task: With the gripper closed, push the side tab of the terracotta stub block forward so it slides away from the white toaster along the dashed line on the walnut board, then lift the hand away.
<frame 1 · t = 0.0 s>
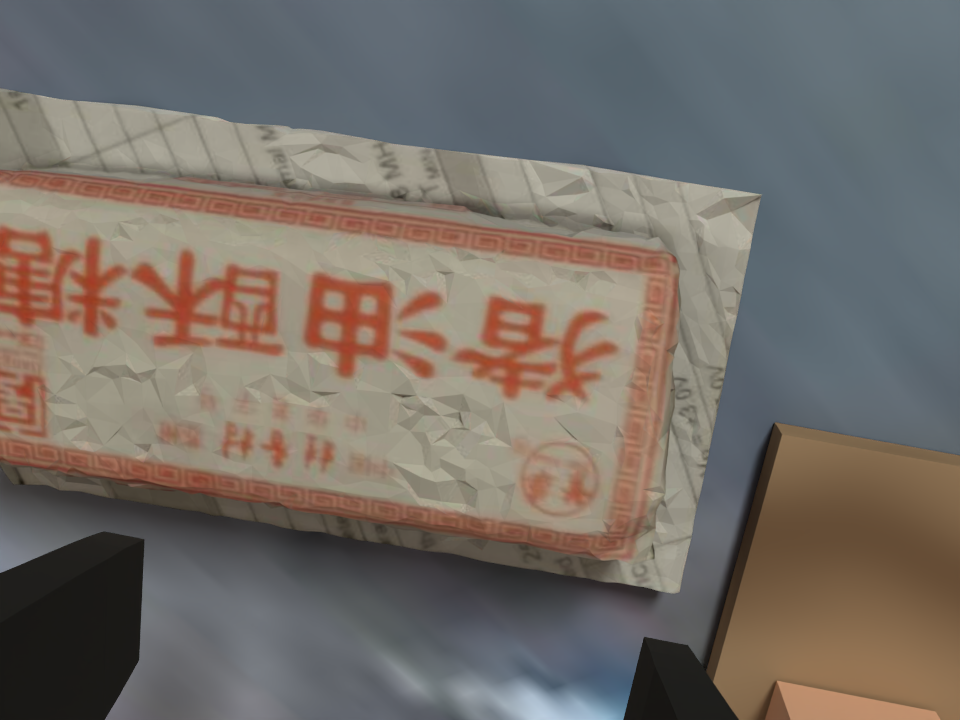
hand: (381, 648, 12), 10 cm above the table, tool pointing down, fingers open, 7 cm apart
packaged product: (360, 333, 22), on the table
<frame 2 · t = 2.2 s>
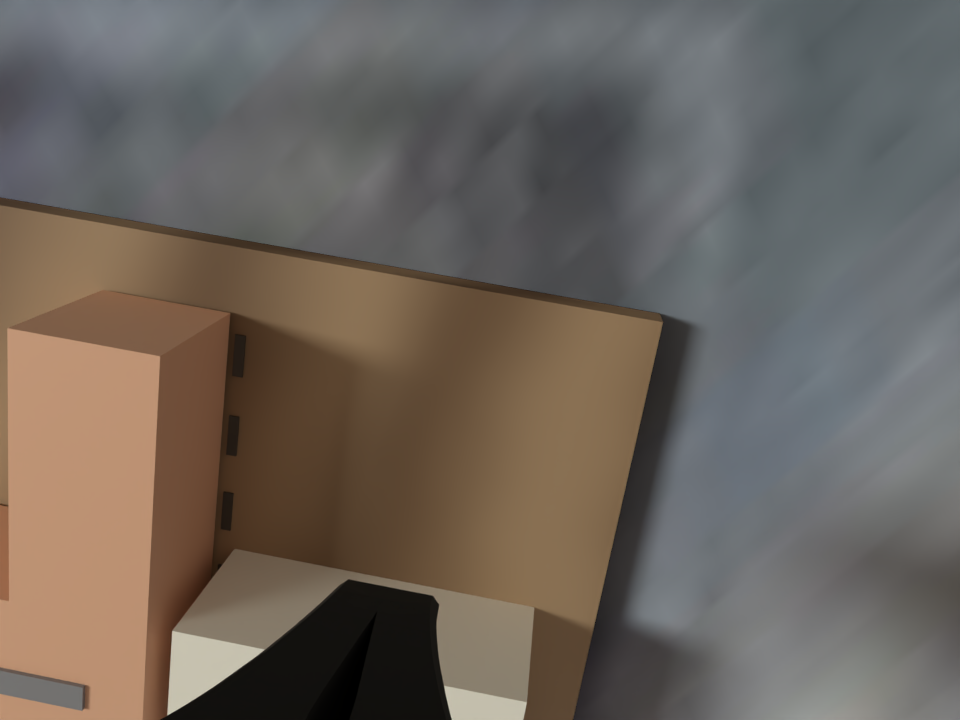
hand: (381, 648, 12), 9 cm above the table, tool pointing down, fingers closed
white toaster: (380, 628, 23), resting on board
stub: (55, 521, 20), point 3 cm above the table, slide at 0.0 cm
board: (172, 483, 22), on the table
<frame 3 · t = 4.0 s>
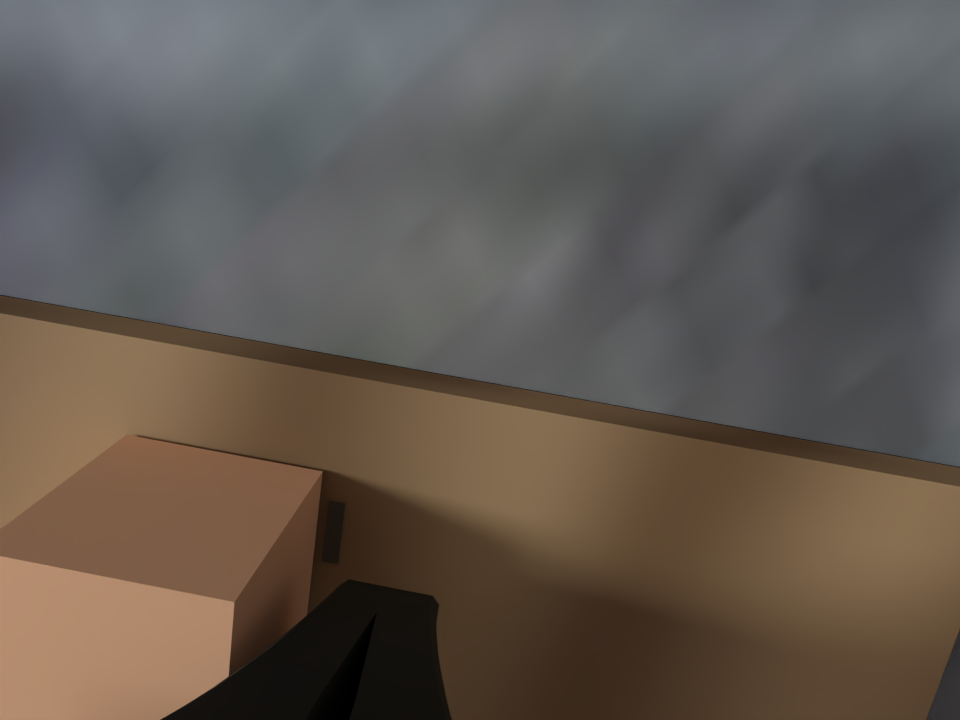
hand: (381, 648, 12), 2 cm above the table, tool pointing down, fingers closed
board: (225, 693, 15), on the table
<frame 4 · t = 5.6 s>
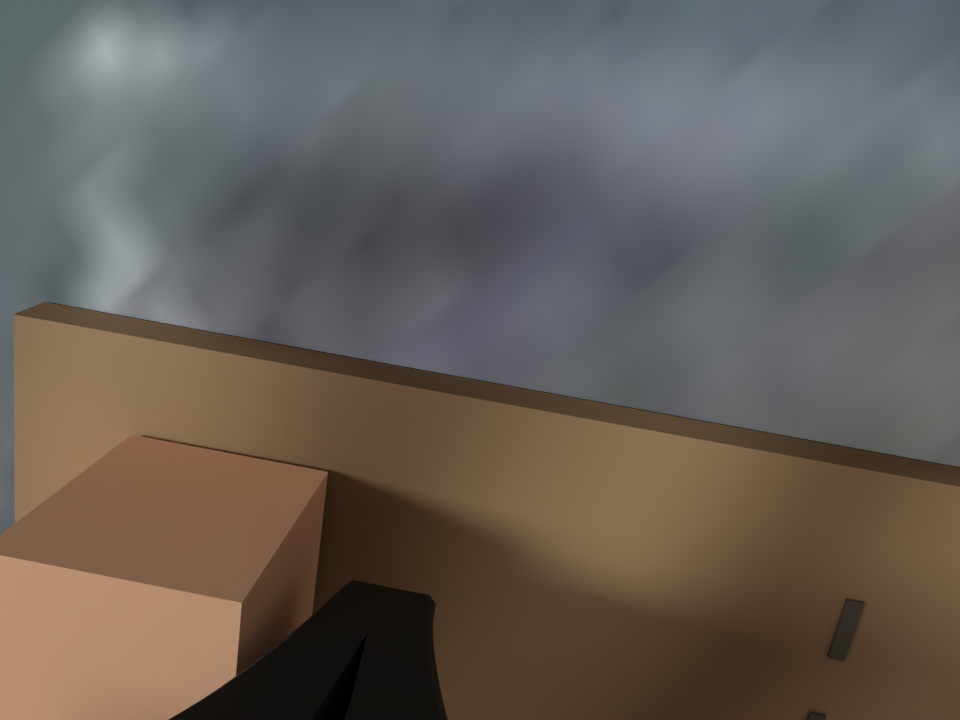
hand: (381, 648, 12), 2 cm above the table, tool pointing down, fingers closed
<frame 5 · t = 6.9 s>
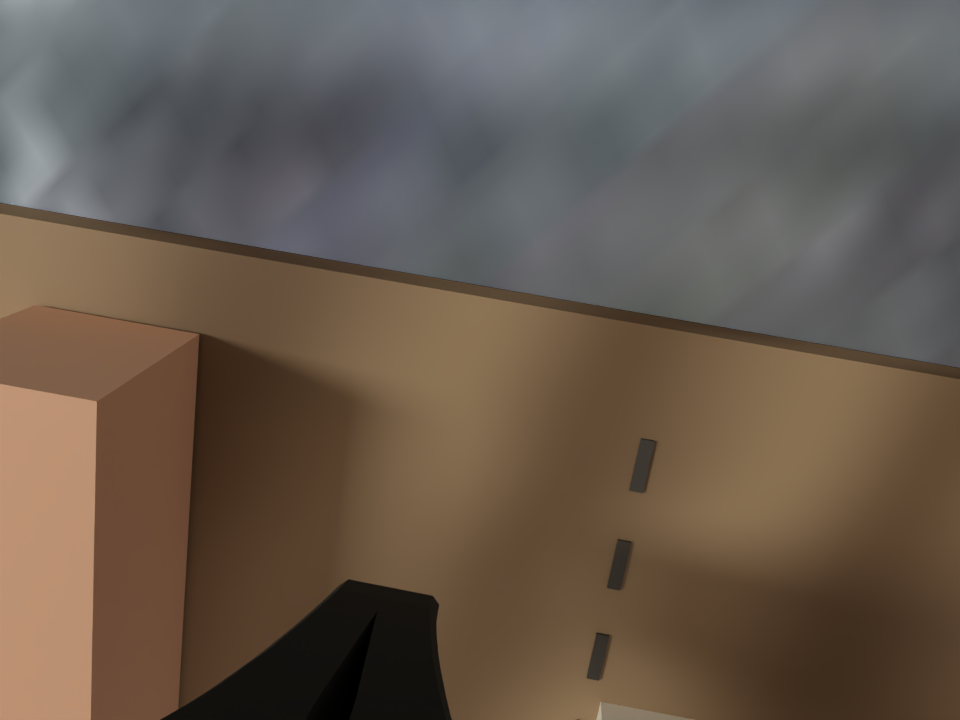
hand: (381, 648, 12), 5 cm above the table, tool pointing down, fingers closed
board: (509, 614, 17), on the table
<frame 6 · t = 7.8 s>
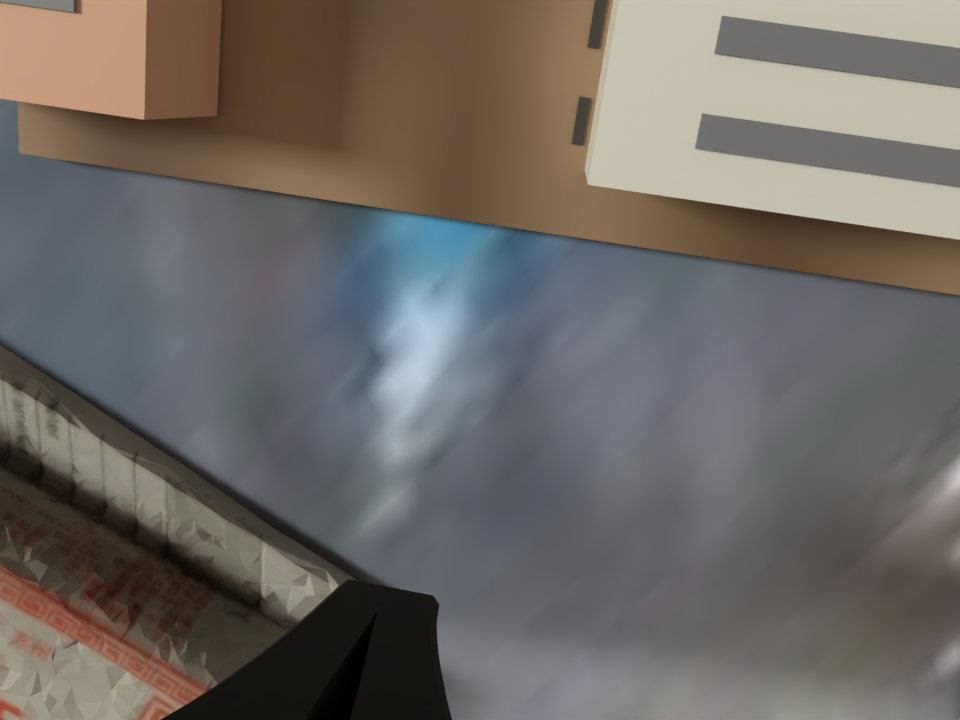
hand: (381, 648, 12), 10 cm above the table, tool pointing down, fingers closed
white toaster: (769, 99, 19), resting on board
packaged product: (32, 528, 25), on the table
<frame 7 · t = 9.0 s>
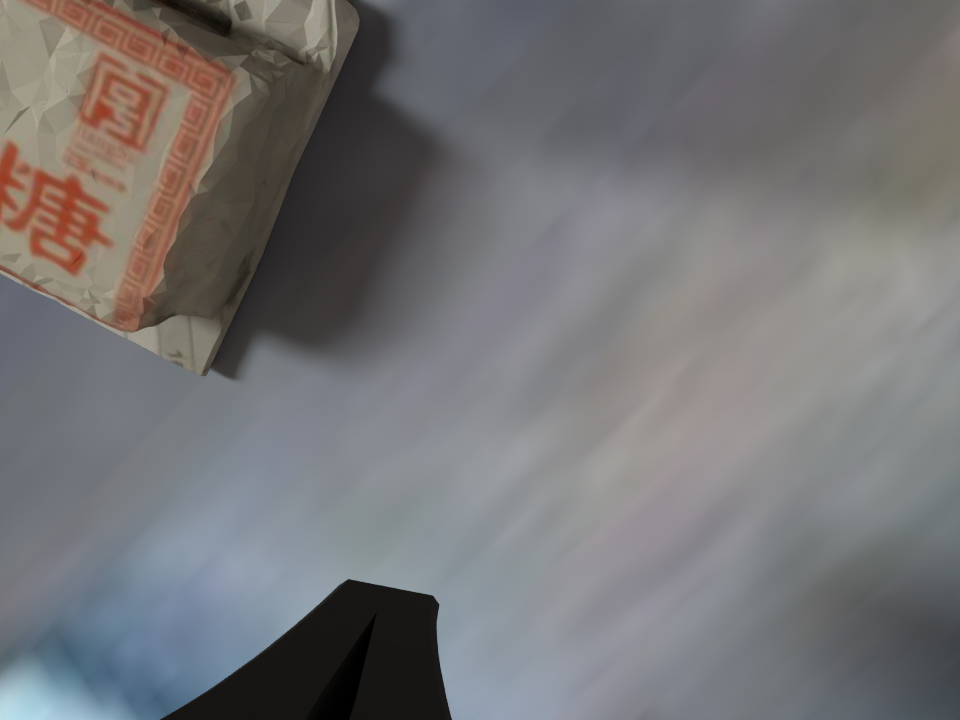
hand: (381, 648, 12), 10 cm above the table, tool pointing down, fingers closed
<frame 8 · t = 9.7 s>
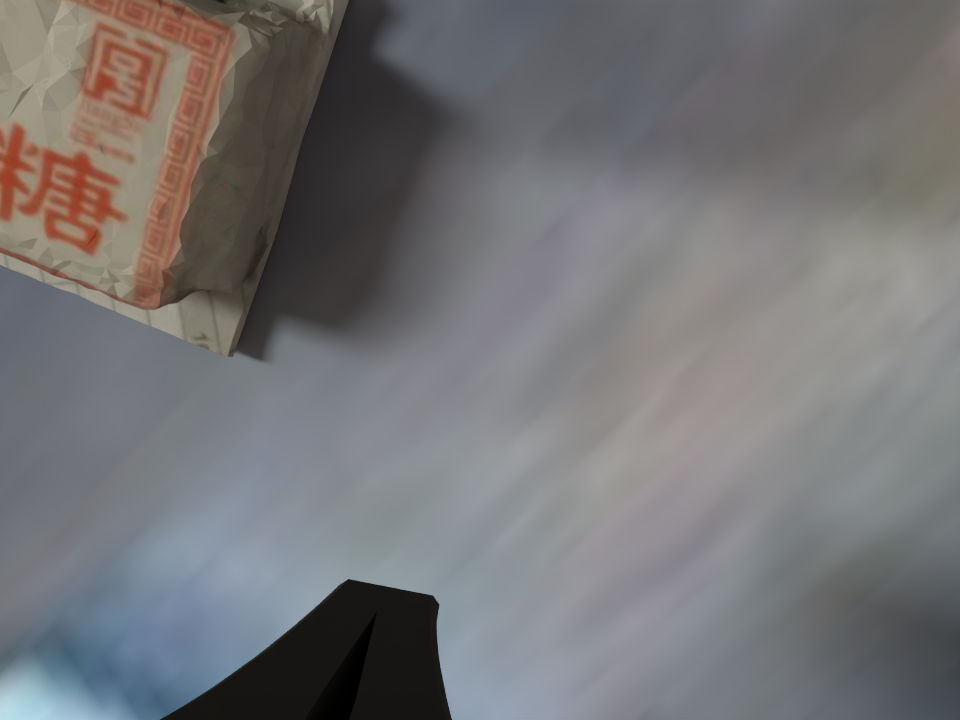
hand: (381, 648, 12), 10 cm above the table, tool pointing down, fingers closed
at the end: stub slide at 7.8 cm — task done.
